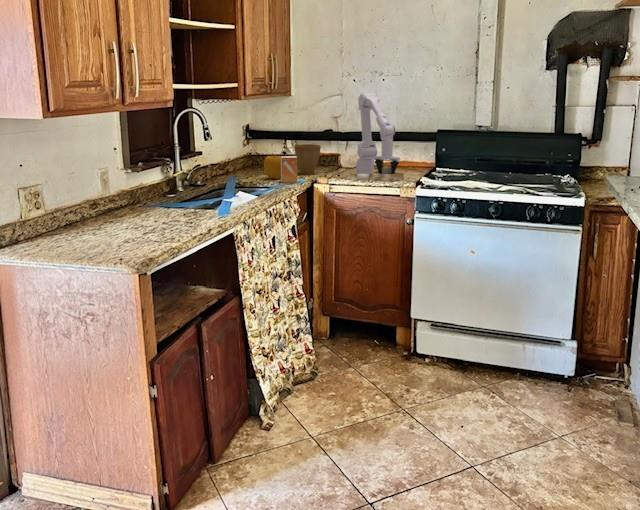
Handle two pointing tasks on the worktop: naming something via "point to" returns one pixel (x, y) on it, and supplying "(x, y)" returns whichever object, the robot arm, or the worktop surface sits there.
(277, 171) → the mustard rounded block
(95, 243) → the worktop surface
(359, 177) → the pale grey block
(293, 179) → the small box
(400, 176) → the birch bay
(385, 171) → the slate plug
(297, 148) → the plant pot
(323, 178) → the worktop surface
